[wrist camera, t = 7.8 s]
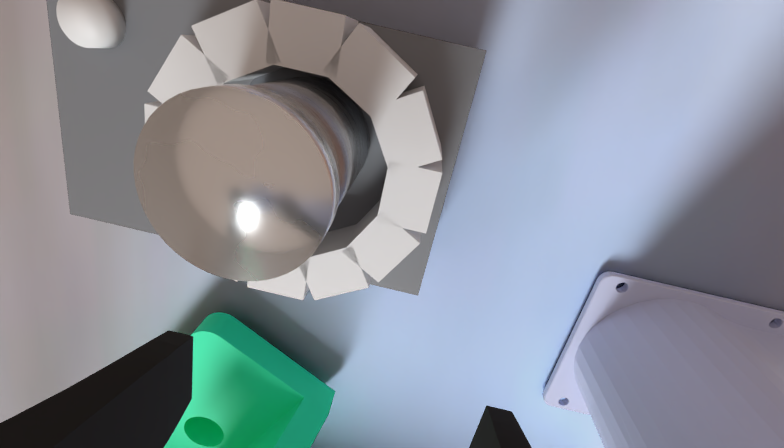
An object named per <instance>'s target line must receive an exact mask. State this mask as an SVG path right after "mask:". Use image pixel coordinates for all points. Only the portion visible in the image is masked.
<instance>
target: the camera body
mask: <svg viewBox="0 0 784 448" xmlns="http://www.w3.org/2000/svg"><path fill="white" fill-rule="evenodd" d="M46 1H47V10H48V19H49V28H50V37H51V46H52V55H53V64H54V72H55V81H56V90H57V99H58V108H59V117H60V126H61V135H62V144H63V153H64V162H65V171H66V180H67V189H68V198H69V207H70V214H72V215H77V216H81V217H85V218H89V219H94V220H98V221H102V222H106V223H111V224H115V225H119V226H124V227H128V228H132V229H136V230H141V231H145V232H149V233H154V234H158V233H157V232H156V230H155V229H154V227H153V226H152V225H151V223H150V221H149V219H148V218H147V216H146V214H145V212H144V210H143V208H142V205H141V203H140V200H139V197H138V194H137V190H136V186H135V180H134V164H133V162H134V153H135V147H136V144H137V140H138V137H139V135H140V132H141V130H142V128H143V126H144V124H145V123H146V121H147V120H148V118H149V117H150V116H151V114H152V113H153V112H154V111H155V110H156V109H157V108H158V107H159V106H160V105H162V104H163V103H164V102H165V101H167V100H168V99H170V98H172V97H174V96H176V95H177V94H180V93H182V92H185V91H188V90H191V89H196V88H202V87H208V86H215V85H222V84H243V85H255V84H261V83H267V82H273V81H279V80H285V79H291V78H297V77H316V78H320V79H324V80H327V81H329V82H332V83H334V84H335V85H337V86H338V87H339V88H341V89H342V90H343V91H344V92H345V93H346V94H347V95H348V96H349V97H350V98H351V99H352V100H353V101H355V102H356V103H357V105H358V106H359V108H360V109H361V111H362V113H363V115H364V118H365V120H366V123H367V127H368V132H369V150H368V154H367V158H366V161H365V164H364V166H363V168H362V169H361V171H360V173H359V174H358V176H357V177H356V179H355V181H354V182H353V184H352V185H351V187H350V189H349V190H348V192H347V193H346V195H345V197H344V198H343V200H342V201H341V203H340V204H339V206H338V208H337V212H336V215H335V217H334V220H333V222H332V224H331V226H330V228H329V230H328V232H327V233H326V235H325V237H324V238H323V240H322V242H321V243H320V245H319V246H318V248H317V249H316V251H315V252H314V253H313V255H312V256H311V257H310V258H309V259H308V260H307V261H306V262H304V263H303V264H302V265H300V266H299V267H298V268H296V269H295V270H293V271H291V272H289V273H287V274H285V275H282V276H279V277H277V278H273V279H268V280H262V281H248V283H247V287H249V288H253V289H257V290H262V291H266V292H270V293H274V294H279V295H283V296H287V297H291V298H296V299H300V300H304V298H305V296H306V294H307V292H308V291H309V289H310V291H311V294H312V296H313V298H314V300H318V299H322V298H327V297H331V296H335V295H339V294H344V293H348V292H352V291H356V290H361V289H365V288H369V285H370V284H371V285H376V286H380V287H384V288H389V289H393V290H397V291H401V292H406V293H410V294H414V295H418V293H419V290H420V286H421V282H422V279H423V275H424V272H425V268H426V265H427V261H428V257H429V254H430V250H431V247H432V243H433V240H434V236H435V233H436V229H437V225H438V222H439V218H440V215H441V211H442V208H443V204H444V200H445V197H446V193H447V190H448V186H449V183H450V179H451V175H452V172H453V168H454V165H455V161H456V158H457V154H458V150H459V147H460V143H461V140H462V136H463V133H464V129H465V125H466V122H467V118H468V115H469V111H470V108H471V104H472V100H473V97H474V93H475V90H476V86H477V83H478V79H479V75H480V72H481V68H482V65H483V61H484V58H485V54H486V50H481V49H477V48H473V47H469V46H464V45H460V44H456V43H451V42H447V41H443V40H438V39H434V38H430V37H425V36H421V35H417V34H412V33H408V32H404V31H399V30H395V29H391V28H386V27H382V26H378V25H373V24H369V23H365V22H360V21H357V20H355V19H353V18H351V17H348V16H346V15H342V14H338V13H334V12H329V11H325V10H321V9H316V8H312V7H308V6H303V5H299V4H295V3H290V2H286V1H282V0H271V1H269V0H46ZM158 235H159V234H158ZM234 281H236V282H237V281H238V280H234Z"/></svg>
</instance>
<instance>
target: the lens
mask: <svg viewBox="0 0 784 448" xmlns="http://www.w3.org/2000/svg"><path fill="white" fill-rule="evenodd" d="M368 150H369V132H368V127H367V123H366V120H365V118H364V115H363V113H362V111H361V109H360V108H359V106H358V105H357V103H356V102H355V101H353V100H352V99H351V98H350V97H349V96H348V95H347V94H346V93H345V92H344V91H343V90H342V89H341V88H339V87H338V86H337V85H335V84H334V83H332V82H329V81H327V80H324V79H320V78H316V77H297V78H291V79H285V80H279V81H273V82H267V83H261V84H255V85H243V84H222V85H215V86H208V87H202V88H196V89H191V90H188V91H185V92H182V93H180V94H177V95H176V96H174V97H172V98H170V99H168V100H167V101H165V102H164V103H163V104H162V105H160V106H159V107H158V108H157V109H156V110H155V111H154V112H153V113H152V114H151V116H150V117H149V118H148V120H147V121H146V123H145V124H144V126H143V128H142V130H141V132H140V135H139V137H138V140H137V144H136V147H135V153H134V162H133V164H134V180H135V186H136V190H137V194H138V197H139V200H140V203H141V205H142V208H143V210H144V212H145V214H146V216H147V218H148V219H149V221H150V223H151V225H152V226H153V227H154V229H155V230H156V232H157V233H158V234H159V236H160V237H161V238H162V239H163V240H164V241H165V242H166V244H167V245H168V246H170V247H171V248H172V249H173V250H174V251H175V252H176V253H177V254H179V255H180V256H181V257H182V258H184V259H185V260H186V261H188V262H190V263H191V264H193V265H194V266H196V267H198V268H200V269H202V270H204V271H206V272H208V273H211V274H214V275H216V276H219V277H223V278H227V279H231V280H239V281H262V280H268V279H273V278H277V277H279V276H282V275H285V274H287V273H289V272H291V271H293V270H295V269H296V268H298V267H299V266H300V265H302V264H303V263H304V262H306V261H307V260H308V259H309V258H310V257H311V256H312V255H313V253H314V252H315V251H316V249H317V248H318V246H319V245H320V243H321V242H322V240H323V238H324V237H325V235H326V233H327V232H328V230H329V228H330V226H331V224H332V222H333V220H334V217H335V215H336V212H337V208H338V206H339V204H340V203H341V201H342V200H343V198H344V197H345V195H346V193H347V192H348V190H349V189H350V187H351V185H352V184H353V182H354V181H355V179H356V177H357V176H358V174H359V173H360V171H361V169H362V168H363V166H364V164H365V161H366V158H367V154H368Z"/></svg>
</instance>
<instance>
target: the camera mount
mask: <svg viewBox="0 0 784 448" xmlns="http://www.w3.org/2000/svg"><path fill="white" fill-rule="evenodd" d="M190 336H193V372H192V400H191V401H190V403H189V405H188V407H187V409H186V411H185V412H184V414H183V416H182V418H181V420H180V421H179V423H178V425H177V427H176V428H175V430H174V432H173V433H172V435H171V437H170V439H169V440H168V442H167V443H166V445H165V446H164V448H310V447H311V445H312V443H313V442H314V440H315V438H316V436H317V434H318V433H319V431H320V429H321V427H322V425H323V423H324V422H325V420H326V418H327V416H328V414H329V411H330V407H331V404H332V400H333V397H334V394H335V391H334V390H333V389H331V388H330V387H328V386H327V385H326V384H324V383H323V382H322V381H320V380H319V379H318V378H316V377H315V376H314V375H312V374H311V373H309V372H308V371H307V370H305V369H304V368H303V367H301V366H300V365H299V364H297V363H296V362H294V361H293V360H292V359H290V358H289V357H288V356H286V355H285V354H284V353H282V352H281V351H279V350H278V349H277V348H275V347H274V346H273V345H271V344H270V343H269V342H267V341H266V340H265V339H263V338H262V337H260V336H259V335H258V334H256V333H255V332H254V331H252V330H251V329H250V328H248V327H247V326H245V325H244V324H243V323H241V322H240V321H239V320H237V319H236V318H235V317H233V316H231V315H229V314H226V313H221V312H216V313H212V314H210V315H208V316H207V317H206V318H205V319H204V320H203V322H202V323H201V324H200V325H199V326H198V327H197V328H196V330H195V331H194V332H193V333H192V334H191V335H190Z"/></svg>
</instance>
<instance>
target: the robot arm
mask: <svg viewBox="0 0 784 448" xmlns="http://www.w3.org/2000/svg"><path fill="white" fill-rule="evenodd" d="M619 283H624V285H623V286H622V287H620V288H616V286H617V285H618V284H619ZM773 319H775V320H774V321H773V322H771V321H772V320H773ZM192 372H193V336H190V335H186V334H182V333H177V332H173V331H167V332H165V333H163V334H162V335H160V336H158V337H156V338H155V339H153V340H151V341H149V342H148V343H146V344H144V345H142V346H141V347H139V348H137V349H136V350H134V351H132V352H130V353H129V354H127V355H125V356H124V357H122V358H120V359H118V360H117V361H115V362H113V363H111V364H110V365H108V366H106V367H105V368H103V369H101V370H99V371H97V372H96V373H94V374H92V375H90V376H89V377H87V378H85V379H83V380H81V381H80V382H78V383H76V384H74V385H72V386H71V387H69V388H67V389H65V390H63V391H62V392H60V393H58V394H56V395H54V396H52V397H50V398H48V399H46V400H44V401H42V402H41V403H39V404H37V405H35V406H33V407H31V408H29V409H27V410H25V411H23V412H21V413H19V414H17V415H16V416H14V417H12V418H10V419H8V420H6V421H4V422H2V423H0V448H164V446H165V445H166V443H167V442H168V440H169V439H170V437H171V435H172V433H173V432H174V430H175V428H176V427H177V425H178V423H179V421H180V420H181V418H182V416H183V414H184V412H185V411H186V409H187V407H188V405H189V403H190V401H191V400H192ZM543 398H544V401H545V403H546V404H547V405H550V406H554V407H558V408H562V409H566V410H571V411H575V412H579V413H583V414H588V415H591V417H592V420H593V422H594V424H595V427H596V429H597V431H598V433H599V436H600V438H601V440H602V443H603V445H604V447H605V448H784V311H779V310H775V309H771V308H766V307H762V306H758V305H754V304H749V303H745V302H741V301H736V300H732V299H728V298H724V297H719V296H715V295H711V294H706V293H702V292H698V291H694V290H689V289H685V288H681V287H676V286H672V285H668V284H664V283H659V282H655V281H651V280H646V279H642V278H638V277H634V276H629V275H625V274H621V273H616V272H610V271H608V272H604V273H602V274H601V275H600V276H599V277H598V278H597V280H596V283H595V285H594V287H593V289H592V291H591V293H590V295H589V297H588V299H587V301H586V303H585V306H584V308H583V310H582V312H581V314H580V316H579V318H578V320H577V322H576V324H575V326H574V329H573V331H572V333H571V335H570V337H569V339H568V341H567V343H566V345H565V347H564V349H563V351H562V354H561V356H560V358H559V360H558V362H557V364H556V366H555V368H554V370H553V372H552V374H551V377H550V379H549V381H548V383H547V385H546V387H545V389H544V391H543ZM561 398H565V399H563V400H560V399H561ZM469 448H531V446H530V444H529V442H528V440H527V438H526V437H525V435H524V433H523V431H522V429H521V427H520V426H519V424H518V422H517V420H516V418H515V416H514V415H513V413H512V412H511V411H507V410H503V409H499V408H494V407H490V406H486V408H485V411H484V413H483V416H482V418H481V420H480V423H479V425H478V428H477V430H476V432H475V435H474V437H473V440H472V442H471V445H470V447H469Z"/></svg>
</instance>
